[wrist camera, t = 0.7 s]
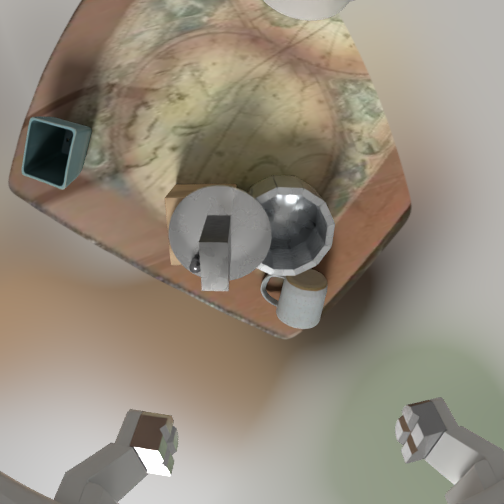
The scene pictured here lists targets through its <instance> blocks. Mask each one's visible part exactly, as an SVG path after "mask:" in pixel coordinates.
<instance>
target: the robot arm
mask: <svg viewBox="0 0 504 504" xmlns="http://www.w3.org/2000/svg"><path fill="white" fill-rule="evenodd" d="M263 1H264V2H265V3H266V4H268V5H269V6H270V7H271V8H273V9H274V10H276V11H278V12H279V13H281V14H284V15H286V16H289V17H292V18H296V19H301V20H321V19H326V18H329V17H332V16H334V15H336V14H337V13H339V12H340V11H341V10H342V9H343V8H344V7H345V6H346V5H347V4H348V3H349V2H350V1H354V0H263ZM402 413H403V415H402V416H401V417H400V418H399V419H398V420H397V423H396V428H395V433H396V438H397V441H398V442H399V443H401V444H402V445H403V446H402V449H401V452H402V455H403V458H404V460H405V463H410V462H414V461H418V460H421V459H425V458H426V459H425V460H426V461H427V462H428V463H429V464H430V465H432V466H433V467H434V468H435V469H436V470H437V471H439V472H440V473H441V474H442V475H443V476H445V477H446V478H447V479H448V480H449V481H450V482H452V483H453V484H454V486H453V487H452V488H451V489H450V490H449V491H448V492H447V493H446V494H445V497H446V500H447V503H448V504H504V451H503V450H502V449H501V448H499V447H497V446H496V445H494V444H492V443H490V442H489V441H486V440H485V439H483V438H482V437H480V436H478V435H476V434H474V433H473V432H471V431H469V430H468V429H466V428H464V427H463V426H460V427H459V426H458V425H457V423H456V421H455V419H454V417H453V415H452V414H451V412H450V410H449V408H448V406H447V405H446V403H445V401H444V399H443V398H441V397H439V398H435V399H431V400H425V401H421V402H417V403H413V404H408V405H406V406H405V407H404V408H403V410H402ZM173 423H174V420H173V418H172V415H165V414H158V413H151V412H145V411H139V410H133V409H130V410H129V411H128V412H127V414H126V417H125V419H124V421H123V424H122V427H121V429H120V431H119V434H118V436H117V439H116V441H115V443H110V444H108V445H107V446H105V447H104V448H102V449H101V450H100V451H98V452H96V453H95V454H93V455H92V456H90V457H89V458H87V459H86V460H85V461H83V462H81V463H80V464H78V465H76V466H75V467H73V468H72V469H70V470H69V471H67V472H66V473H65V475H64V477H63V479H62V482H61V484H60V486H59V488H58V491H57V493H56V495H55V498H54V500H53V499H51V498H48V497H46V496H44V495H42V494H40V493H38V492H36V491H34V490H32V489H30V488H29V487H27V486H25V485H23V484H21V483H20V482H18V481H16V480H14V479H13V478H11V477H9V476H7V475H6V474H4V473H3V472H1V471H0V504H119V503H118V501H119V500H120V499H122V498H123V497H124V496H125V495H126V494H127V493H128V492H129V491H130V490H131V489H133V488H134V486H136V485H137V484H138V483H139V482H140V481H141V480H142V479H143V478H144V477H145V476H146V475H148V472H149V473H155V474H162V475H169V476H171V473H172V469H173V465H174V460H173V457H172V455H173V454H174V453H175V452H176V451H177V447H178V432H177V429H176V428H175V427H174V426H173Z"/></svg>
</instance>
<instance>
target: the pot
mask: <svg viewBox="0 0 504 504" xmlns="http://www.w3.org/2000/svg"><path fill="white" fill-rule="evenodd" d="M247 193H249V194H250V195H252V196H253V197H254V198H255V199H257V200H258V201H259V203H260V204H261V205H262V206H263V208H264V209H265V211H266V213H267V215H268V218H269V221H270V225H271V231H272V238H271V245H270V248H269V251H268V253H267V255H266V257H265V259H264V260H263V262H262V263H261V264H260V265H259V266H258V267H257V268H258V269H260V270H262V271H264V272H266V273H268V274H270V275H272V276H295V274H296V275H298V274H300V273H302V272H304V271H306V270H308V269H310V268H312V267H314V266H317V265H318V263H319V262H320V261H321V260H322V258H323V257H324V256H325V254H326V253H327V252H328V251H329V249H330V248H331V246H332V240H333V234H334V226H335V224H334V220H333V218H332V216H331V214H330V211H329V209H328V207H327V205H326V203H325V201H324V200H323V199H322V197H321V196H320V195H319V194H318V192H317V191H316V190H315V189H314V188H313V187H312V186H310V185H309V184H307V183H306V182H304V181H303V180H301V179H299V178H298V177H296V176H287V175H273V176H272V175H271V176H269V177H267V178H265V179H263V180H261V181H260V182H258V183H256V184H254V185H252V186H251V187H250V189H249V190H248V192H247ZM316 264H317V265H316Z"/></svg>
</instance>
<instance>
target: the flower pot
mask: <svg viewBox="0 0 504 504" xmlns="http://www.w3.org/2000/svg"><path fill="white" fill-rule="evenodd" d="M91 132H92V130H91V128H90V127H87V126H84V125H80V124H77V123H73V122H70V121H66V120H62V119H59V118H55V117H31V118H30V122H29V127H28V132H27V138H26V144H25V151H24V157H23V164H22V174H23V175H25V176H27V177H30V178H33V179H36V180H39V181H41V182H44V183H47V184H49V185H52V186H55V187H57V188H59V189H65V188H66V187H67V186H68V185H69V184H70V183H71V182H72V181H73V180H74V179H75V178H76V177H77V176H78V175H79V174H80V172H81V170H82V168H83V165H84V161H85V157H86V152H87V148H88V144H89V140H90V136H91ZM67 138H68V139H69V141H67Z"/></svg>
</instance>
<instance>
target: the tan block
mask: <svg viewBox="0 0 504 504" xmlns="http://www.w3.org/2000/svg"><path fill="white" fill-rule="evenodd" d="M210 185H229V186H233V187H236V184H176V185H175V186H174V187H173V188H172V190H171V191H170V192H169V193H168V195H167V196H166V197H165V207H166V219H167V230H168V240H169V223H170V220H171V217H172V214H173V212H174V210H175V209H176V207H177V206H178V204H179V203H180V202H181V201H182V200H183V199H184V198H185V197H186V196H187V195H188V194H190V193H191V192H193V191H195V190H197V189H199V188H202V187H205V186H210ZM169 250H170V259H171V265H182V264H181V263H180V262H179V261H178V259H177V258H176V256H175V255H174V253H173V251H172V248H171V245H170V241H169Z"/></svg>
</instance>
